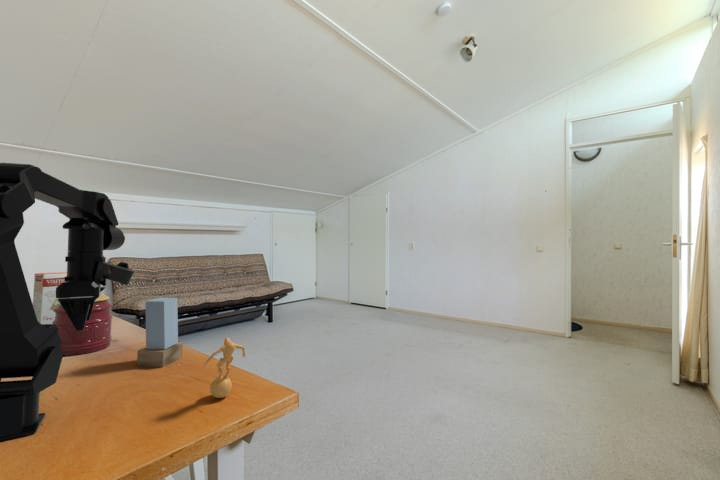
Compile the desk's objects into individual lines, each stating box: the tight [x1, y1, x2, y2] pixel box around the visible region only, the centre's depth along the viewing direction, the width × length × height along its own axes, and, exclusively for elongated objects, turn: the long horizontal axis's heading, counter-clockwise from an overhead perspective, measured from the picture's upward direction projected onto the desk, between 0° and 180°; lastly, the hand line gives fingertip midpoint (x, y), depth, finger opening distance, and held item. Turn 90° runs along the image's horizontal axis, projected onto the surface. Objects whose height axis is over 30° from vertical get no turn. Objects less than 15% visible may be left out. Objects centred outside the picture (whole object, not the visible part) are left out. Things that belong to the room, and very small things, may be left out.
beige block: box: [136, 343, 183, 368], centre depth 82 cm, size 7×7×4 cm
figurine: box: [203, 337, 246, 399], centre depth 63 cm, size 8×6×12 cm
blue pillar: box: [145, 297, 179, 349], centre depth 82 cm, size 5×5×12 cm
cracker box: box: [32, 271, 67, 324], centre depth 100 cm, size 14×6×21 cm, turn 155°
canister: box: [52, 292, 114, 356], centre depth 91 cm, size 13×13×18 cm
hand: (83, 325), depth 68 cm, fingers open, 9 cm apart
